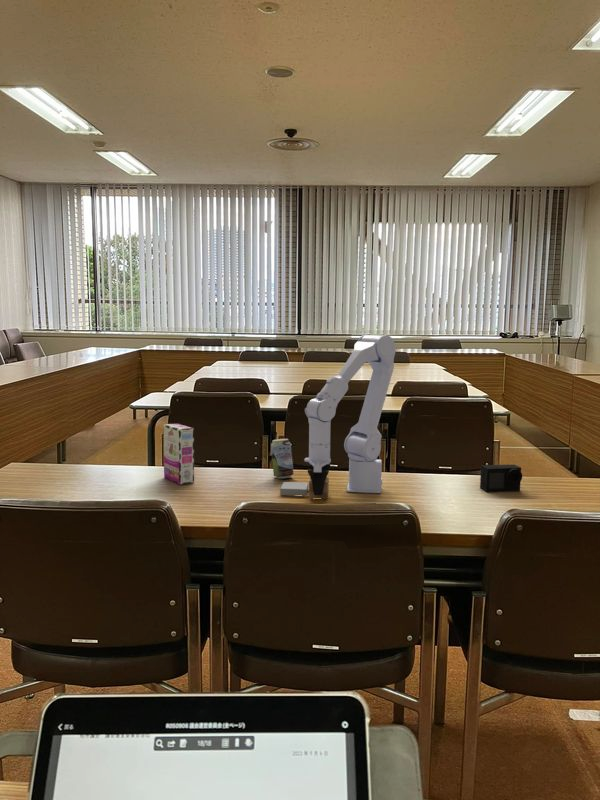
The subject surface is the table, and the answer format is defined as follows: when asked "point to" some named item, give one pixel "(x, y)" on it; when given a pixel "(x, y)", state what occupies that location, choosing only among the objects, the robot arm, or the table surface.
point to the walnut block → (325, 490)
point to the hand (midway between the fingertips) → (318, 492)
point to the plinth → (294, 488)
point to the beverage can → (282, 458)
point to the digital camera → (500, 478)
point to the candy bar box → (179, 453)
